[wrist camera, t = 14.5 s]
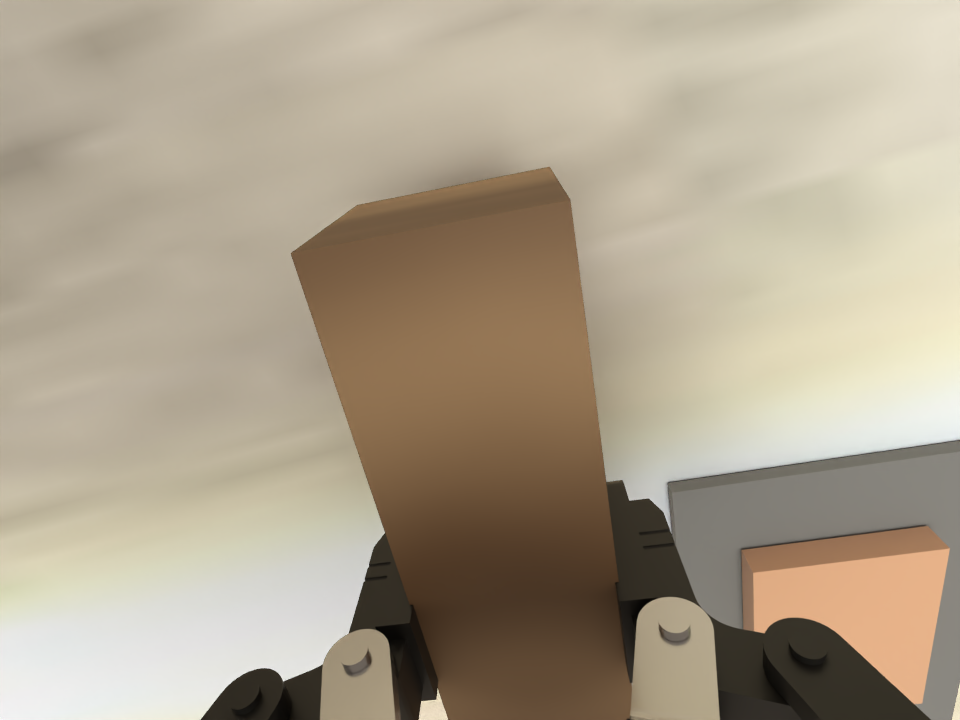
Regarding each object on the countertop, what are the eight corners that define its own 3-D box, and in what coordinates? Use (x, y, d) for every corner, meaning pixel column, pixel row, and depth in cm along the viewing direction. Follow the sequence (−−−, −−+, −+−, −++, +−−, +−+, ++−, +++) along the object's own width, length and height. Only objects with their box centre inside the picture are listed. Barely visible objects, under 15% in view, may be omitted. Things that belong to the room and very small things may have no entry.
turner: (311, 213, 12) (226, 265, 8) (600, 156, 11) (645, 185, 7) (494, 797, 20) (492, 948, 17) (664, 785, 20) (700, 941, 16)
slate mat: (667, 482, 22) (671, 492, 22) (998, 434, 21) (1011, 444, 20) (690, 731, 29) (693, 743, 28) (942, 708, 28) (951, 720, 27)
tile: (753, 572, 22) (755, 718, 25) (949, 548, 21) (922, 703, 25) (740, 548, 23) (744, 691, 27) (926, 524, 22) (903, 675, 26)
